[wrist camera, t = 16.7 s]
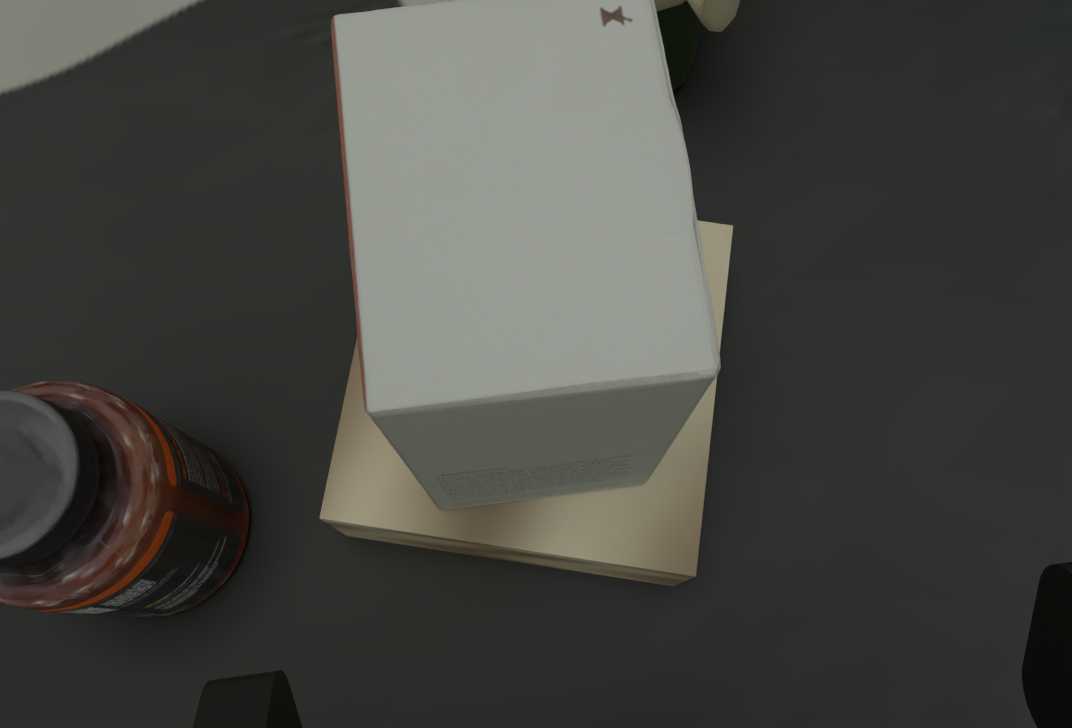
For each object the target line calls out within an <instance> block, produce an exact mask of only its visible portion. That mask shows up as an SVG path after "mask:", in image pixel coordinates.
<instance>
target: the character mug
mask: <svg viewBox="0 0 1072 728" xmlns="http://www.w3.org/2000/svg"><path fill="white" fill-rule="evenodd" d="M654 2H655V7H656V12H657V17H658V22H659V27H660V32H661V36H662V41H663V46H664V52H665V57H666V62H667V67H668V71H669V77H670V82H671V86H672V91H674V90H675V89H677V88H678V87H680V86H682V85H683V84H684V82H685V80H686V78H687V76H688V74H689V71H690V69H691V67H692V65H693V63H694V61H695V59H696V56H697V53H698V46H699V38H700V31H701V23H702V24H703V25H704V26H705V27H706V28H707V29H708V30H709V31H715V32H722V31H723V30H724V29H725V28H726V27H727V26H728V24H729V23H730V22H731V21H732V20H733V18H734V17H735V15H736V12H737V9H738V6H739V3H740V0H654Z"/></svg>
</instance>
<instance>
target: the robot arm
mask: <svg viewBox="0 0 1072 728" xmlns="http://www.w3.org/2000/svg"><path fill="white" fill-rule="evenodd" d="M1022 683H1023V689H1024V694H1025V698H1026V702H1027V705H1028V708H1029V711H1030V713H1031V715H1032V718H1033V720H1034V722H1035V724H1036V726H1037V727H1038V728H1072V562H1067V563H1060V564H1053V565H1049V566H1048V567H1046V568H1045V569H1044V571H1043V572H1042V574H1041V577H1040V581H1039V585H1038V590H1037V595H1036V600H1035V605H1034V610H1033V615H1032V621H1031V626H1030V631H1029V636H1028V641H1027V646H1026V651H1025V656H1024V661H1023V667H1022ZM193 728H302V725H301V722H300V718H299V715H298V712H297V708H296V705H295V702H294V698H293V695H292V691H291V688H290V685H289V682H288V679H287V677H286V675H285V673H284V672H283V671H273V672H266V673H259V674H252V675H245V676H238V677H231V678H223V679H216V680H210V681H208V682H207V683H206V685H205V686H204V689H203V691H202V694H201V697H200V702H199V706H198V710H197V714H196V718H195V722H194V726H193Z"/></svg>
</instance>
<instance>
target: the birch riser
mask: <svg viewBox="0 0 1072 728" xmlns="http://www.w3.org/2000/svg"><path fill="white" fill-rule="evenodd" d="M698 227H699V233H700V239H701V245H702V251H703V258H704V263H705V268H706V274H707V279H708V285H709V291H710V297H711V303H712V309H713V316H714V322H715V328H716V335H717V341H718V348H719V353H720V344H721V335H722V325H723V316H724V306H725V297H726V287H727V278H728V269H729V259H730V250H731V240H732V231H733V226H731V225H724V224H717V223H710V222H703V221H698ZM716 382H717V377H716V378H715V379H714V381H713V382H712V383H711V385H710V386H709V388H708V389H707V391H706V392H705V394H704V395H703V397H702V398H701V400H700V401H699V403H698V404H697V406H696V407H695V409H694V410H693V412H692V413H691V415H690V417H689V418H688V420H687V421H686V423H685V424H684V426H683V428H682V429H681V431H680V432H679V434H678V435H677V437H676V438H675V440H674V441H673V443H672V444H671V446H670V447H669V449H668V450H667V452H666V453H665V455H664V457H663V458H662V460H661V461H660V463H659V464H658V466H657V467H656V469H655V470H654V472H653V473H652V475H651V476H650V478H649V479H648V481H647V482H646V483H645V484H644V485H640V486H634V487H626V488H618V489H610V490H602V491H594V492H586V493H578V494H570V495H562V496H554V497H546V498H538V499H530V500H522V501H514V502H506V503H499V504H491V505H483V506H475V507H467V508H459V509H452V510H444V511H441V510H439V509H438V508H437V507H436V506H435V504H434V503H433V501H432V500H431V499H430V497H429V496H428V495H427V493H426V492H425V491H424V489H423V487H422V486H421V485H420V484H419V482H418V481H417V479H416V478H415V477H414V475H413V474H412V473H411V471H410V470H409V468H408V467H407V466H406V465H405V463H404V462H403V460H402V459H401V458H400V456H399V455H398V454H397V452H396V451H395V450H394V448H393V447H392V446H391V444H390V443H389V441H388V440H387V439H386V438H385V436H384V435H383V433H382V432H381V430H380V429H379V428H378V427H377V425H376V424H375V423H374V421H373V420H372V418H371V417H370V416H369V415H368V414H367V413H366V412H365V409H364V400H363V389H362V379H361V369H360V359H359V349H358V337H357V341H356V346H355V350H354V355H353V360H352V365H351V370H350V374H349V379H348V384H347V389H346V393H345V398H344V403H343V408H342V413H341V417H340V422H339V427H338V432H337V436H336V441H335V446H334V451H333V456H332V460H331V465H330V470H329V475H328V479H327V484H326V489H325V494H324V499H323V503H322V508H321V513H320V518H319V519H321V520H323V521H324V522H326V523H327V524H329V525H331V526H332V527H334V528H335V529H337V530H338V531H340V532H342V533H343V534H345V535H346V536H351V537H358V538H364V539H371V540H377V541H384V542H390V543H397V544H403V545H410V546H416V547H423V548H429V549H436V550H442V551H449V552H455V553H462V554H468V555H475V556H481V557H487V558H494V559H500V560H507V561H513V562H520V563H526V564H533V565H539V566H546V567H552V568H559V569H565V570H572V571H578V572H585V573H591V574H598V575H604V576H611V577H617V578H624V579H630V580H637V581H643V582H650V583H656V584H662V585H669V586H675V585H678V584H680V583H682V582H684V581H687V580H689V579H691V578H693V577H696V571H697V561H698V552H699V542H700V533H701V523H702V514H703V504H704V495H705V486H706V476H707V467H708V457H709V448H710V438H711V429H712V420H713V410H714V401H715V391H716Z"/></svg>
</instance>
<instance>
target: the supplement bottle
mask: <svg viewBox="0 0 1072 728" xmlns="http://www.w3.org/2000/svg"><path fill="white" fill-rule="evenodd" d="M248 525H249V510H248V503H247V499H246V495H245V492H244V490H243V487H242V485H241V483H240V481H239V479H238V477H237V475H236V474H235V472H234V471H233V470H232V468H231V467H230V466H229V465H228V464H227V463H226V462H225V461H224V460H223V459H222V458H221V457H220V456H219V455H218V454H217V453H215V452H214V451H213V450H211V449H210V448H209V447H207V446H206V445H204V444H202V443H200V442H199V441H197V440H195V439H193V438H191V437H190V436H188V435H187V434H185V433H183V432H182V431H180V430H178V429H176V428H175V427H173V426H171V425H170V424H168V423H166V422H165V421H163V420H161V419H159V418H157V417H156V416H154V415H152V414H151V413H149V412H147V411H146V410H144V409H142V408H141V407H139V406H137V405H136V404H134V403H132V402H130V401H128V400H126V399H125V398H123V397H121V396H120V395H118V394H116V393H113V392H111V391H109V390H106V389H103V388H101V387H98V386H95V385H91V384H86V383H80V382H75V381H44V382H37V383H34V384H30V385H26V386H22V387H19V388H16V389H14V390H11V391H6V390H1V391H0V603H1V604H4V605H8V606H13V607H17V608H21V609H27V610H39V611H44V612H46V611H49V612H68V613H82V614H92V615H93V614H96V615H111V616H127V617H142V618H147V617H158V616H169V615H173V614H176V613H178V612H181V611H184V610H187V609H189V608H191V607H193V606H196V605H197V604H199V603H201V602H202V601H204V600H205V599H207V598H208V597H210V596H211V595H212V594H213V593H214V592H215V591H216V590H217V589H218V588H220V587H221V586H222V585H223V584H224V583H225V582H226V580H227V578H228V577H229V576H230V575H231V574H232V572H233V571H234V569H235V567H236V566H237V564H238V562H239V560H240V558H241V555H242V553H243V550H244V547H245V543H246V539H247V534H248Z"/></svg>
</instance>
